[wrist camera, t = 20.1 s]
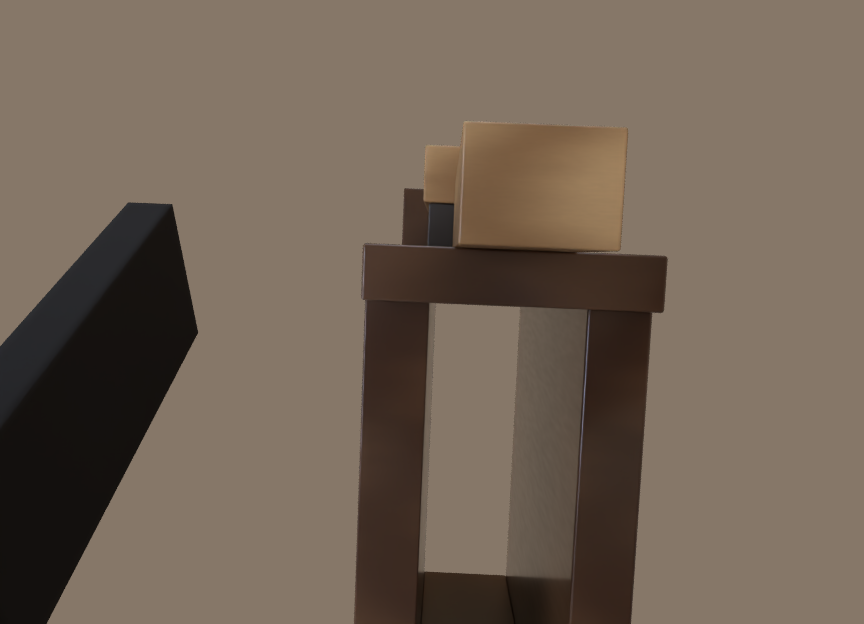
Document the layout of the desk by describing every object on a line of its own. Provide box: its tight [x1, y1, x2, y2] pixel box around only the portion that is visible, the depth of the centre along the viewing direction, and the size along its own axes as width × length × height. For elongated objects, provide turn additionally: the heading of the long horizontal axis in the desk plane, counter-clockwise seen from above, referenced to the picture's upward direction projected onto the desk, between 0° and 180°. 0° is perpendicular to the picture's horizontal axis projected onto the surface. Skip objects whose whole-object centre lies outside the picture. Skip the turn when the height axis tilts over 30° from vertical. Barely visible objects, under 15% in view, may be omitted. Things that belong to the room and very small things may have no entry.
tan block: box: [423, 121, 628, 252], centre depth 24 cm, size 5×20×4 cm, turn 179°
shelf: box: [354, 188, 668, 624], centre depth 28 cm, size 8×18×33 cm, turn 179°
